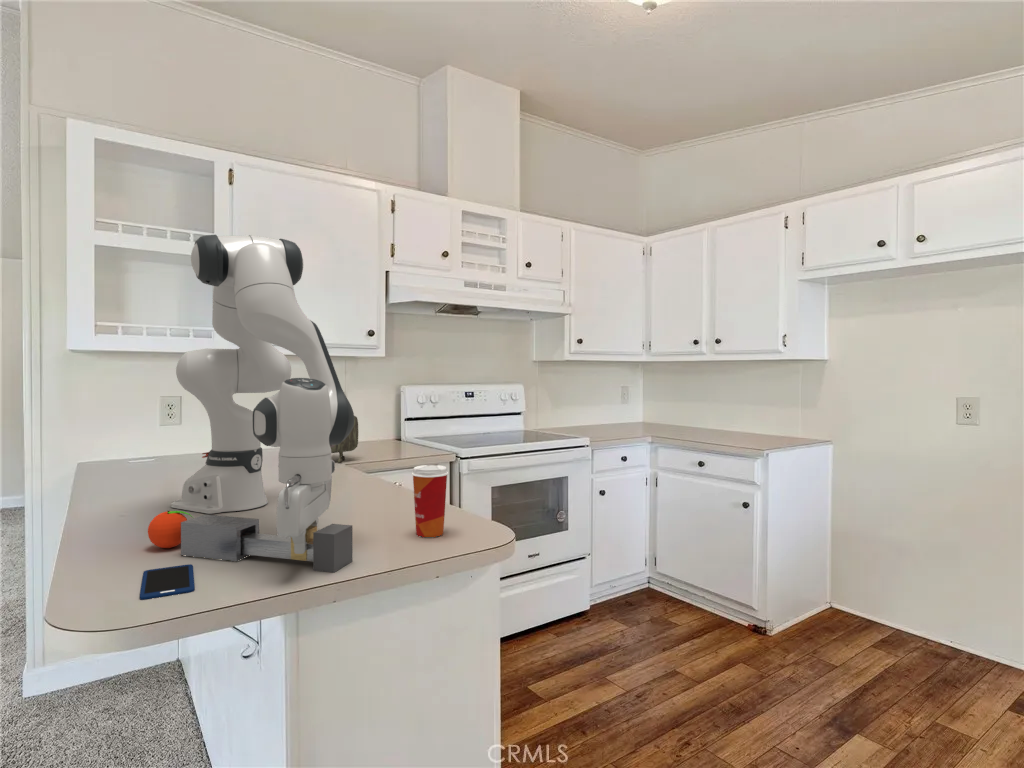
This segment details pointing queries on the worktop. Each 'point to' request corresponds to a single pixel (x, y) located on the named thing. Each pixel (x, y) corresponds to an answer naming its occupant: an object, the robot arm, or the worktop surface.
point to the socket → (332, 547)
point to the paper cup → (429, 499)
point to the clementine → (166, 529)
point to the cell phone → (167, 582)
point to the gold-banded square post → (276, 545)
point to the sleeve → (216, 536)
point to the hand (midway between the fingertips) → (305, 547)
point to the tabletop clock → (347, 442)
